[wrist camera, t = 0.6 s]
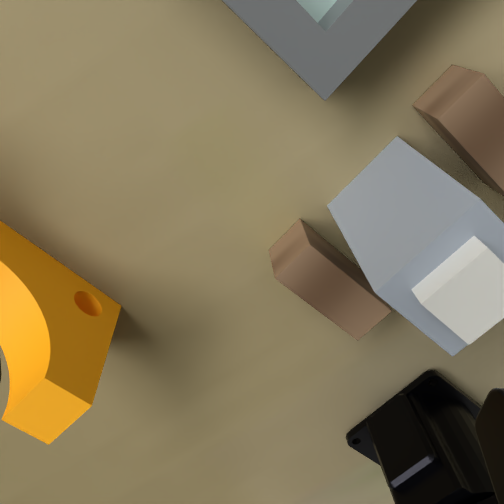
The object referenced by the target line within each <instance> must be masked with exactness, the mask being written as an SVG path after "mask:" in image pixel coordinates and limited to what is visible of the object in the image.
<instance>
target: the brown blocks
mask: <svg viewBox="0 0 504 504" xmlns="http://www.w3.org/2000/svg"><path fill="white" fill-rule="evenodd" d="M412 106H413V107H414V108H415V109H416V110H417V111H418V112H419V113H420V114H421V115H422V116H423V118H424V119H425V120H426V121H427V122H428V123H429V124H430V125H431V126H432V127H433V128H434V129H435V130H436V132H437V133H438V134H439V135H440V136H441V137H442V138H443V139H444V140H445V141H446V142H447V143H448V144H449V146H450V147H451V148H452V149H453V150H454V151H455V152H456V153H457V154H458V155H459V156H460V157H461V158H462V160H463V161H464V162H465V163H466V164H467V165H468V166H469V167H470V168H471V169H472V170H473V171H474V172H475V174H476V175H477V176H478V177H479V178H480V179H481V180H482V181H483V182H484V183H485V184H486V185H488V186H489V187H491V188H492V189H494V190H495V191H497V192H498V193H500V194H501V195H503V196H504V97H503V96H502V95H501V94H500V92H499V91H498V90H497V89H496V87H495V86H494V85H493V84H492V83H491V81H490V80H489V79H488V78H487V76H486V75H485V74H483V73H480V72H476V71H472V70H469V69H465V68H462V67H458V66H455V65H451V66H450V67H449V68H448V69H447V70H446V71H445V73H444V74H443V75H442V76H441V77H440V78H439V79H438V80H437V81H436V82H435V83H434V84H433V85H432V86H431V87H430V88H429V89H428V90H427V91H426V92H425V93H424V94H423V95H422V96H421V97H420V98H419V99H418V100H417V101H416V102H415V103H414V104H413V105H412ZM269 253H270V257H271V262H272V267H273V271H274V276H275V279H276V280H278V281H279V282H280V283H282V284H283V285H284V286H286V287H287V288H288V289H290V290H291V291H292V292H294V293H295V294H296V295H298V296H299V297H300V298H302V299H303V300H304V301H306V302H307V303H308V304H310V305H311V306H312V307H314V308H315V309H316V310H318V311H319V312H320V313H322V314H323V315H324V316H326V317H327V318H328V319H330V320H331V321H332V322H334V323H335V324H336V325H338V326H339V327H340V328H342V329H343V330H344V331H346V332H347V333H348V334H350V335H351V336H352V337H354V338H355V339H356V340H359V339H360V338H361V337H362V336H363V335H365V334H366V333H367V332H368V331H369V330H370V329H372V328H373V327H374V326H375V325H376V324H377V323H379V322H380V321H381V320H382V319H383V318H385V317H386V316H387V315H388V314H389V313H390V312H392V311H391V309H390V307H389V306H388V304H387V302H385V301H384V300H383V299H382V298H381V297H379V296H378V295H377V294H376V293H375V292H374V291H373V289H372V287H371V285H370V283H369V281H368V280H367V278H366V276H365V274H364V272H363V271H362V270H361V269H360V268H358V267H357V266H356V265H355V264H354V263H352V262H351V261H350V260H349V259H348V258H346V257H345V256H344V255H343V254H342V253H340V252H339V251H338V250H337V249H336V248H334V247H333V246H332V245H331V244H330V243H328V242H327V241H326V240H325V239H324V238H322V237H321V236H320V235H319V234H318V233H316V232H315V231H314V230H313V229H311V228H310V227H309V226H308V225H307V224H305V223H304V222H303V221H302V220H301V219H299V220H298V221H297V222H296V223H295V224H294V225H293V226H292V227H291V228H290V229H289V230H288V231H287V232H286V233H285V234H284V235H283V236H282V237H281V238H280V239H279V240H278V241H277V242H276V243H275V244H274V245H273V246H272V247H271V248H270V249H269Z"/></svg>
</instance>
